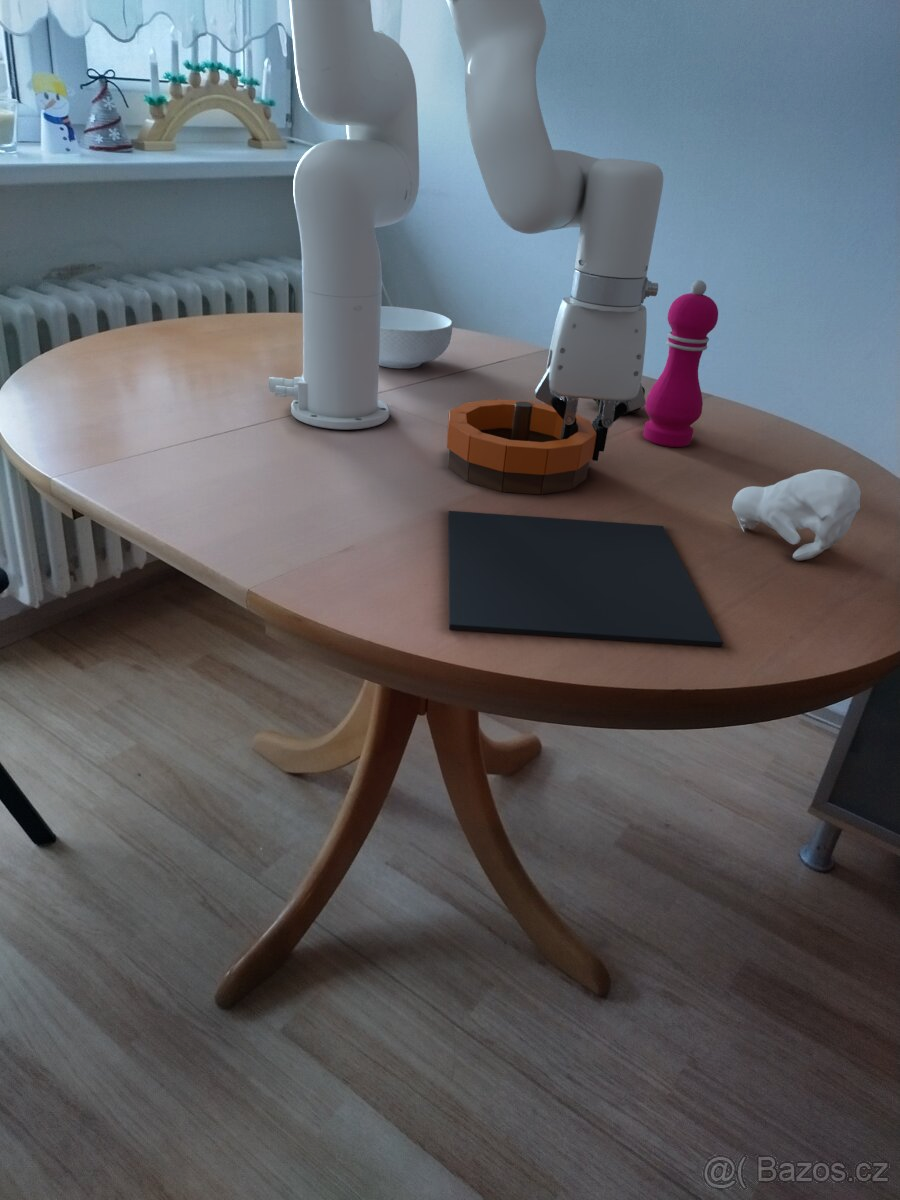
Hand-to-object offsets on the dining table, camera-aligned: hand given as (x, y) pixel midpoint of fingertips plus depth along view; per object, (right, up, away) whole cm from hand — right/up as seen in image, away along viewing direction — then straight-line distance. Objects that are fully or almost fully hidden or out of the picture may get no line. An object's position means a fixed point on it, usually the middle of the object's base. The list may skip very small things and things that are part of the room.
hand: (580, 454), depth 100 cm
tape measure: (+8, +10, +24) cm, 28 cm away
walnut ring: (-7, -1, +1) cm, 8 cm away
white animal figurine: (+19, -11, -12) cm, 25 cm away
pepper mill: (+13, +4, +14) cm, 20 cm away
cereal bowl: (-24, +21, +36) cm, 48 cm away
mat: (-4, -15, -22) cm, 26 cm away
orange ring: (-7, +1, -1) cm, 7 cm away
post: (-7, -1, +1) cm, 8 cm away
